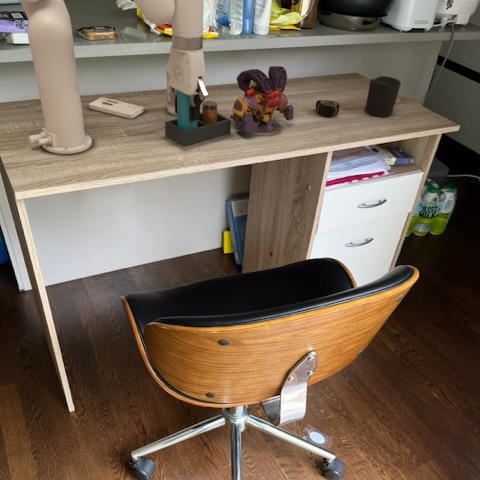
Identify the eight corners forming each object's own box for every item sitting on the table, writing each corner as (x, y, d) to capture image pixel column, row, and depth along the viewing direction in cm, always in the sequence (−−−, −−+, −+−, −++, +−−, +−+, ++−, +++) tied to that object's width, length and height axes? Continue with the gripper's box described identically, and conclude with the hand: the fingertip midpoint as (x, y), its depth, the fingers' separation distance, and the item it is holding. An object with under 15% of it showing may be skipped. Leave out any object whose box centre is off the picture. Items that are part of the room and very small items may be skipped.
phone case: (88, 108, 158) (131, 119, 154) (87, 103, 157) (131, 114, 153) (102, 101, 163) (144, 111, 159) (102, 96, 162) (144, 106, 158)
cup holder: (184, 149, 141) (184, 132, 138) (165, 138, 145) (165, 121, 142) (230, 135, 150) (231, 119, 147) (210, 125, 154) (211, 109, 151)
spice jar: (208, 136, 147) (208, 107, 142) (198, 130, 149) (198, 102, 144) (219, 132, 149) (221, 104, 144) (209, 127, 152) (210, 99, 146)
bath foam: (174, 117, 157) (173, 44, 144) (163, 109, 161) (161, 37, 148) (194, 114, 160) (195, 42, 147) (183, 106, 164) (183, 35, 151)
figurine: (245, 143, 146) (250, 81, 135) (217, 125, 154) (220, 65, 143) (299, 130, 156) (308, 71, 145) (271, 115, 164) (277, 57, 153)
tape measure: (335, 111, 171) (337, 99, 168) (339, 118, 166) (342, 106, 163) (314, 110, 170) (316, 98, 168) (318, 118, 165) (320, 105, 162)
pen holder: (395, 119, 169) (404, 86, 162) (366, 117, 168) (374, 84, 162) (389, 108, 176) (397, 77, 169) (361, 106, 176) (368, 75, 169)
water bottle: (185, 136, 141) (185, 77, 131) (173, 130, 144) (172, 71, 134) (201, 132, 144) (202, 73, 134) (189, 126, 147) (189, 68, 137)
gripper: (154, 35, 132) (157, 109, 144) (197, 53, 123) (196, 130, 135) (178, 32, 136) (178, 103, 148) (221, 49, 127) (218, 123, 139)
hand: (187, 115), depth 141 cm, fingers closed on water bottle, 5 cm apart
